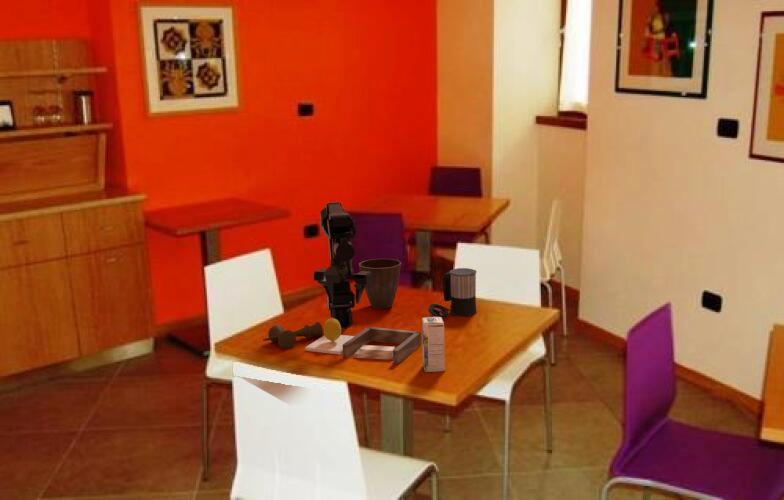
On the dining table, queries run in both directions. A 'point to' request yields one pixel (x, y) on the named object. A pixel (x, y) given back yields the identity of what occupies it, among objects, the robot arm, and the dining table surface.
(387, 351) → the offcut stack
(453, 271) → the milk frother
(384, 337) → the walnut rack
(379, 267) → the plant pot
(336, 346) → the tile
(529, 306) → the dining table surface
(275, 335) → the kendama
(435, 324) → the syrup box
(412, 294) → the dining table surface
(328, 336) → the lemon
